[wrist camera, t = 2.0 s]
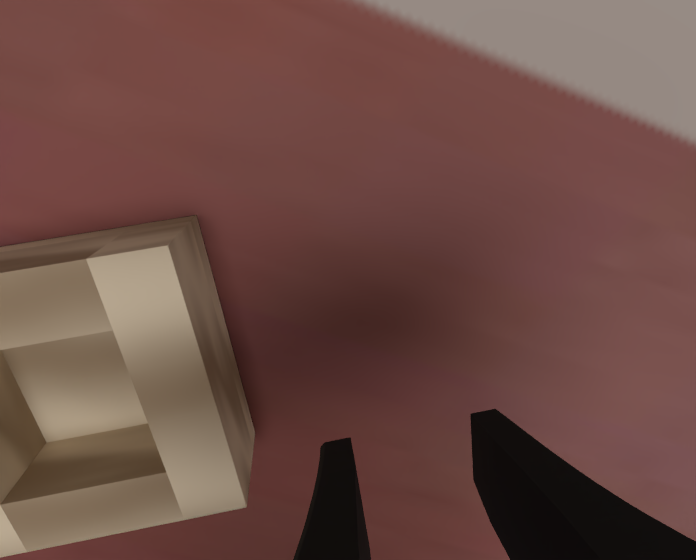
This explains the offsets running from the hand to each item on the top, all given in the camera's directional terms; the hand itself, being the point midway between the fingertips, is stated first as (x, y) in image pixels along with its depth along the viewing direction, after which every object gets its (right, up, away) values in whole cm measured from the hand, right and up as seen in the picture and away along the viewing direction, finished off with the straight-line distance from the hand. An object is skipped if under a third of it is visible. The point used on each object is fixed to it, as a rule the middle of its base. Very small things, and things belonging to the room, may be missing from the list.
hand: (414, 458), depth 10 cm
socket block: (-11, +1, +7) cm, 13 cm away
